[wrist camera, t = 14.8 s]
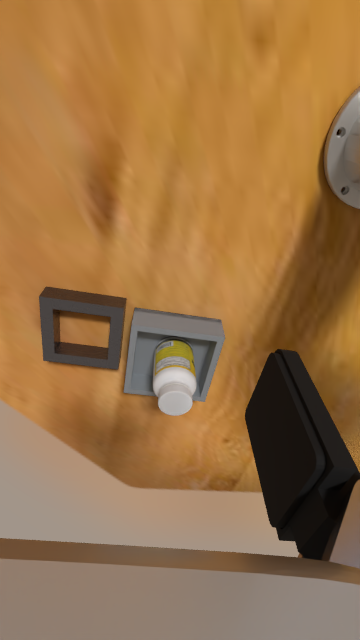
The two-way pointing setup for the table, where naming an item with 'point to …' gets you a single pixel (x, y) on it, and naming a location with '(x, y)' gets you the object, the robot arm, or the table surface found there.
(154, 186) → the table surface
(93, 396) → the table surface
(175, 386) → the supplement bottle
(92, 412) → the table surface
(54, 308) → the socket collar
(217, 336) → the tray
